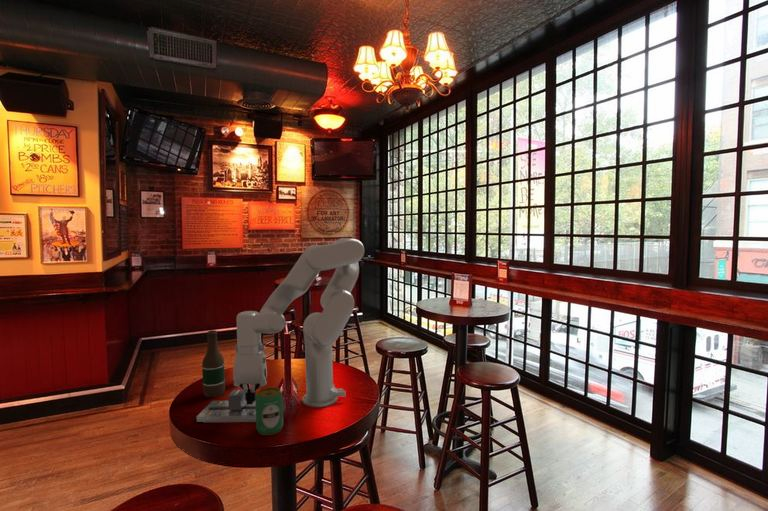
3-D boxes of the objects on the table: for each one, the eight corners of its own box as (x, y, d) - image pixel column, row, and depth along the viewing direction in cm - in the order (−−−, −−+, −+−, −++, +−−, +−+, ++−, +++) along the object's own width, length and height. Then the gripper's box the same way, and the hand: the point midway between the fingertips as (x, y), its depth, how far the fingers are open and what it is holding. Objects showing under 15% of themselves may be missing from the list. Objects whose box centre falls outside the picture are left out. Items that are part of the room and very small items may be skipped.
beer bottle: (217, 398, 149) (214, 334, 148) (198, 397, 151) (195, 333, 149) (229, 390, 157) (227, 328, 155) (211, 389, 159) (209, 328, 157)
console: (281, 405, 143) (280, 394, 142) (271, 421, 131) (271, 410, 131) (212, 406, 143) (212, 395, 143) (196, 422, 131) (196, 411, 131)
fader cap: (246, 403, 139) (245, 389, 139) (240, 410, 134) (240, 395, 134) (234, 403, 139) (233, 389, 139) (228, 410, 134) (228, 395, 134)
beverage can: (258, 438, 121) (256, 398, 120) (255, 426, 128) (253, 389, 127) (285, 432, 124) (284, 393, 123) (281, 421, 131) (279, 384, 130)
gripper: (274, 345, 139) (276, 398, 140) (231, 345, 139) (232, 398, 140) (268, 352, 132) (270, 407, 133) (222, 352, 132) (224, 407, 133)
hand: (250, 402), depth 136 cm, fingers closed
